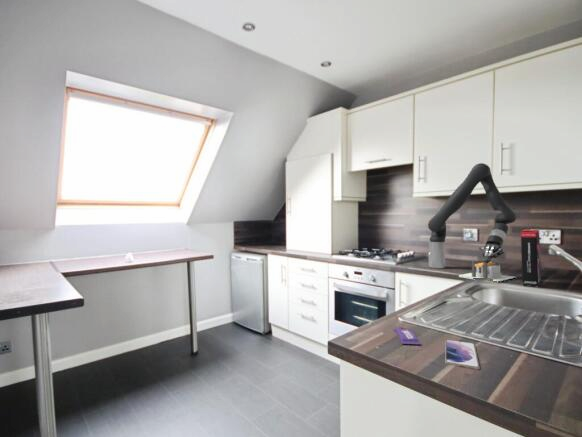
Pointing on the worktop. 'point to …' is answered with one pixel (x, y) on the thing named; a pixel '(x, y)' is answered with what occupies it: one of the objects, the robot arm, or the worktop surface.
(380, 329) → the worktop surface
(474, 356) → the smartphone
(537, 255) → the graphics card box
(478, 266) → the retention strap
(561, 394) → the worktop surface
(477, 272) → the heatsink board
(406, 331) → the snack package
